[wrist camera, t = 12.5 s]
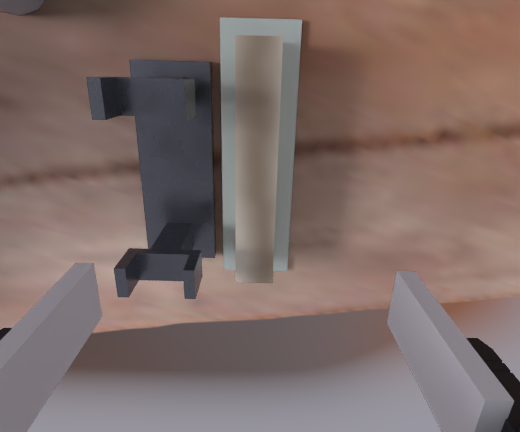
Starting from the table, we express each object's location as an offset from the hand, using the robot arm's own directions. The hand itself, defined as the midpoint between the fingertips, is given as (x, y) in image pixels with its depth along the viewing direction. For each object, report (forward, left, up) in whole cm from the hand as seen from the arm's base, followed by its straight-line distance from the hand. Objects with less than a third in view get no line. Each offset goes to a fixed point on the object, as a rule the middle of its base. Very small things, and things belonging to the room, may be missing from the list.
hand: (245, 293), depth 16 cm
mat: (0, 0, -27) cm, 27 cm away
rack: (-9, -1, -27) cm, 28 cm away
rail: (0, 0, -26) cm, 26 cm away
